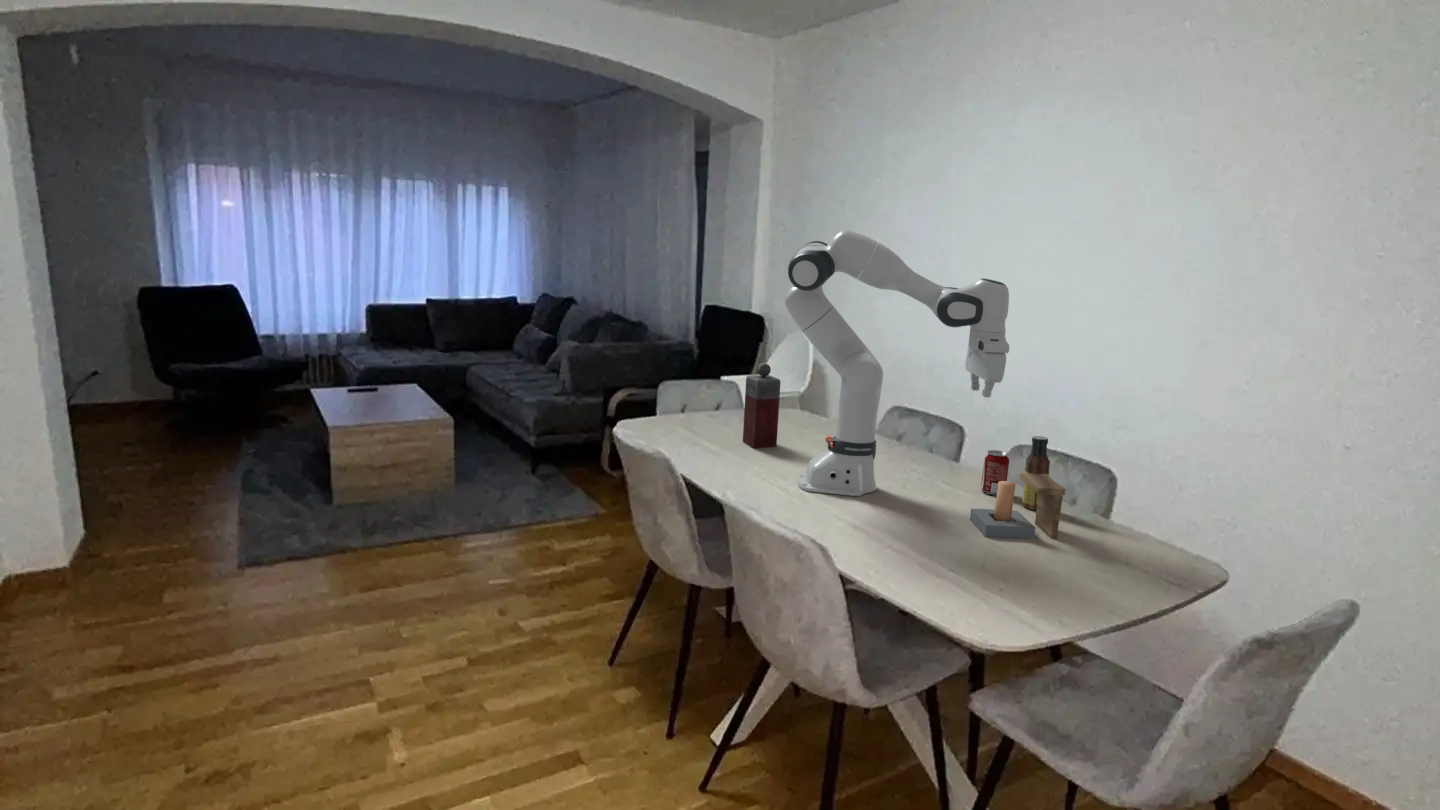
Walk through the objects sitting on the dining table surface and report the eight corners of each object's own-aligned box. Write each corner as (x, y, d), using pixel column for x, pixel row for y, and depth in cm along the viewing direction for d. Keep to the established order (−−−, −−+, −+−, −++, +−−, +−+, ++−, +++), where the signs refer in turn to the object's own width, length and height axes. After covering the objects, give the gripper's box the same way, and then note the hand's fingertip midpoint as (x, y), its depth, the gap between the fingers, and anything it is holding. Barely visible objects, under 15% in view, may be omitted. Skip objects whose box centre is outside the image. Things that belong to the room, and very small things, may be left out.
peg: (995, 531, 197) (1001, 485, 194) (990, 525, 201) (996, 480, 198) (1011, 532, 197) (1017, 486, 194) (1006, 526, 201) (1011, 481, 198)
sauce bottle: (1044, 506, 218) (1054, 436, 214) (1046, 513, 212) (1056, 441, 208) (1019, 502, 220) (1028, 433, 216) (1020, 509, 214) (1029, 438, 210)
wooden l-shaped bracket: (1031, 538, 193) (1038, 488, 190) (1014, 521, 204) (1020, 473, 202) (1058, 540, 193) (1065, 489, 190) (1039, 522, 205) (1045, 474, 202)
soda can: (1006, 497, 224) (1011, 456, 222) (981, 495, 225) (986, 454, 223) (1003, 490, 231) (1008, 450, 228) (979, 488, 232) (983, 448, 229)
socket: (984, 536, 193) (986, 525, 192) (969, 519, 204) (971, 508, 204) (1033, 538, 193) (1035, 527, 192) (1015, 521, 205) (1017, 510, 204)
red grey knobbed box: (763, 438, 277) (767, 360, 272) (776, 447, 267) (782, 365, 261) (739, 440, 274) (743, 360, 268) (752, 448, 264) (757, 365, 258)
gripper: (962, 336, 217) (957, 385, 220) (987, 346, 197) (980, 400, 200) (985, 337, 217) (979, 386, 220) (1012, 347, 197) (1005, 401, 200)
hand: (980, 393), depth 210 cm, fingers open, 8 cm apart
